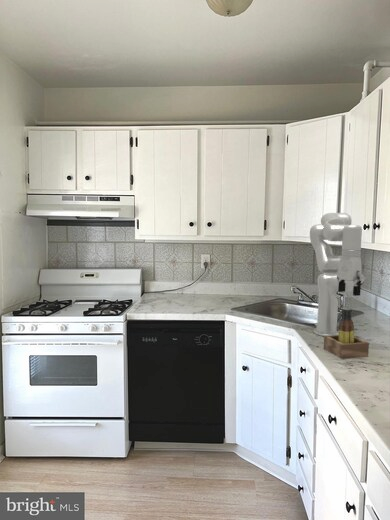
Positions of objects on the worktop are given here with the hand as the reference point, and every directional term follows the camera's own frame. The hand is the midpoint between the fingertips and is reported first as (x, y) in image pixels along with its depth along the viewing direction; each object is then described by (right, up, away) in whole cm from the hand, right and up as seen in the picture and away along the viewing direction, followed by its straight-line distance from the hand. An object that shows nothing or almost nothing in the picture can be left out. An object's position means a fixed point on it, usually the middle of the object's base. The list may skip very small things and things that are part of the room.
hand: (348, 293), depth 160 cm
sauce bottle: (0, -27, +3) cm, 27 cm away
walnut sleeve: (0, -26, +3) cm, 27 cm away
